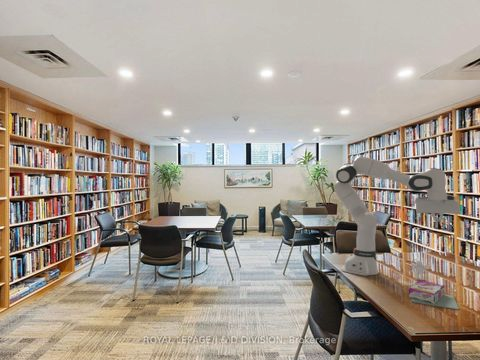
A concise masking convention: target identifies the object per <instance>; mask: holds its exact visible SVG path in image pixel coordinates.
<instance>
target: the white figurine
mask: <svg viewBox="0 0 480 360" xmlns="http://www.w3.org/2000/svg"><path fill="white" fill-rule="evenodd" d="M413 261H415V262H411V263H410V267H412V269H411V273H414V272H415V271H416V272H415V279H416V280H418V281H419V280H421V281H424V280H425V279H424V273H425V274H426V275H428V274H429V273H428V271H427V269H429V264H427V263H425V264H423V262H422V261H421V260H420V259H419V260H418V259H416V258H413ZM423 272H424V273H423Z"/></svg>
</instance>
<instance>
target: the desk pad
mask: <svg viewBox="0 0 480 360" xmlns="http://www.w3.org/2000/svg"><path fill="white" fill-rule="evenodd" d="M410 298H411V297H410ZM410 300H411V303H416V304H421V305H428V306H433V307H439V308H444V309H451V310H456V311H457V310H458V311H459V310H460V308H459V305H458V304H457V301H456V299H455V297H454V295H451V294H445V293H444V296H443V297H442V298H441V299H439V301H437V302H436V303H435V304H433V303H430V302H426V301H422V300H419V299H415V298H411V299H410Z"/></svg>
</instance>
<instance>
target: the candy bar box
mask: <svg viewBox="0 0 480 360" xmlns="http://www.w3.org/2000/svg"><path fill="white" fill-rule="evenodd" d="M444 294H445V285H443V284H438V283H434V282H429V281H426V280H425V281H424V280H420V279H419V280H418V281H416V282H415V283H414V284H412V285H411V286H409V287H408V297H409V298H415V299H419V300H422V301H426V302H430V303H433V304H435V303H436V302H437V301H439V299H441V298H442V297H443V296H444Z"/></svg>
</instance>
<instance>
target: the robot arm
mask: <svg viewBox="0 0 480 360" xmlns="http://www.w3.org/2000/svg"><path fill="white" fill-rule="evenodd" d="M357 175H363V176H367V177H370V178H372V179H380V180H381V179H382V180H390V181H393V182H396V183H399V184H402V185H404V186H406V187H407V188H408V189H409V190H410V191H413V192H421V191H424V190H425V191H426V196H418V197H415V199H414V203H415V205H416V206H415V211H416V213H417V214H431V217H433V221H434V222H438V223H442V218H443V217H444V214H445V215H450V214H451V215H458V214H460V213H461V209H460V207H461V206H460V204H459V202H458V201H457V196H455V195H451V194H448V193H447V189H446V185H447V177H446V173H445V170H443V169H441V168H437V167H429V168H427V169H426V170H424V171H423V172H420V173H417V174H407V173H403V172H400V171H397V170H394V169H393V168H391V167H390V166H389V165H388V164H386V163H385V162H382V161H381V160H378V159H375V158H371V157H366V156H356V158H355V159H354V160H353V161H352V163H350V162H349V163H345V164H342V165H341V166H340V167H339V168H338V169H337V170H336V173H335V177H336V180H337V181H335V183H334V184H333V190H334V192H335V194H336V196H337V197H338V199H339V201H340V202H341V203H342V204H343V206H344V207H345V209H346V210H347V211H348V213H349V216H350V217H351V218H352V219H353V221H354V223H355V224H356V225H357V232H356V236H355V238H356V247H355V248H353V254H352V255H351V256H349V257H348V258H346V259H345V261H344V265H342V266H341V268H340V270H341V271H342V272H343V273H344V272H345V273H350V274H355V275H359V276H360V275H361V276H363V277H364V276H365V277H366V276H373V275H378V274H379V273H380V272H379V269H378V265H377V250H376V233H377V225H378V219H377V217H376V216H375V214H373V213H371V212H370V211H369V210H368V208H367V207H366V206H365V203H364V202H363V200H362V199H361V197H360V195H358V193H357V192H356V189H354V188H353V186H352V184H351V182H352V181H353V180H354V179H355V178H356V176H357ZM436 214H439V217H436Z"/></svg>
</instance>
